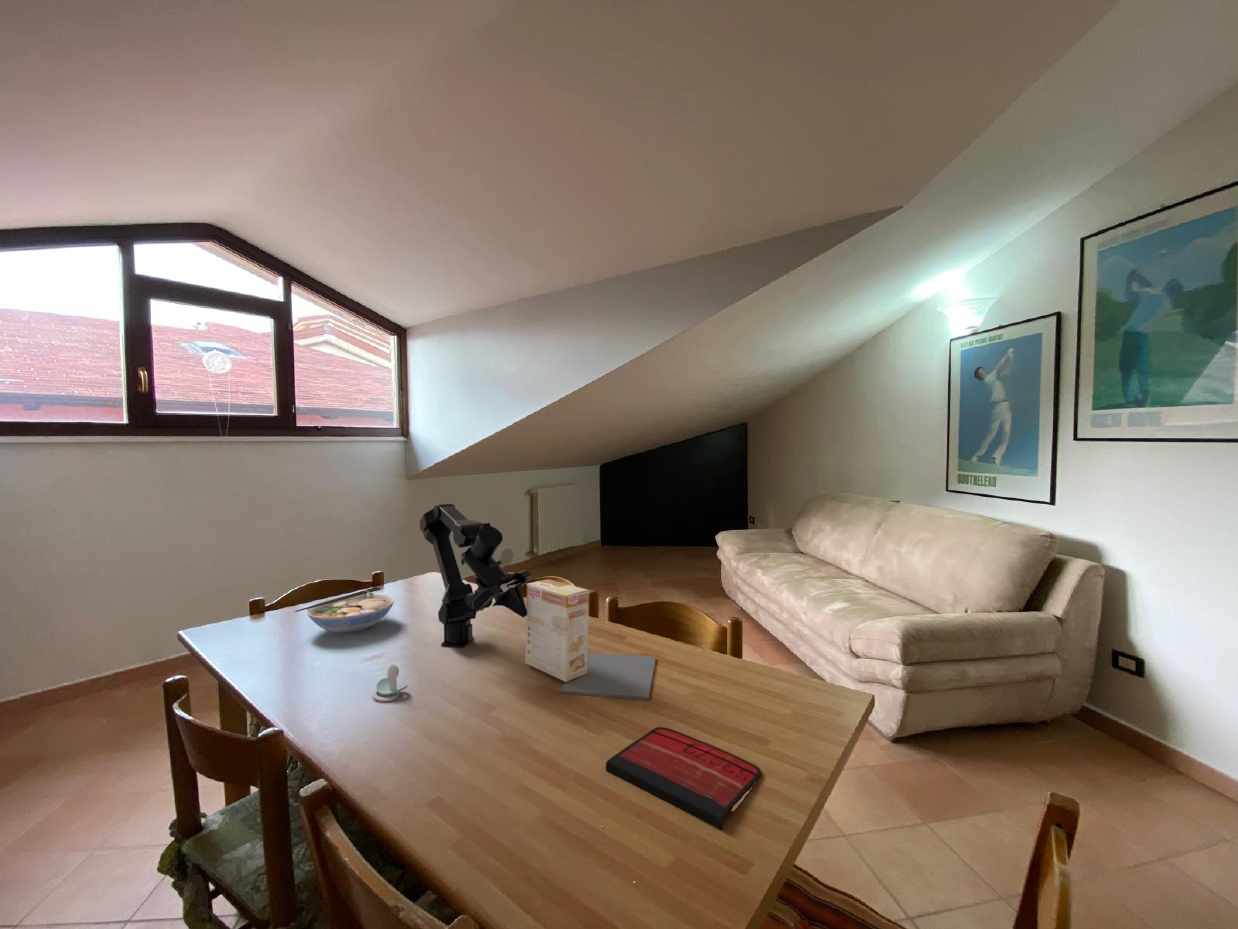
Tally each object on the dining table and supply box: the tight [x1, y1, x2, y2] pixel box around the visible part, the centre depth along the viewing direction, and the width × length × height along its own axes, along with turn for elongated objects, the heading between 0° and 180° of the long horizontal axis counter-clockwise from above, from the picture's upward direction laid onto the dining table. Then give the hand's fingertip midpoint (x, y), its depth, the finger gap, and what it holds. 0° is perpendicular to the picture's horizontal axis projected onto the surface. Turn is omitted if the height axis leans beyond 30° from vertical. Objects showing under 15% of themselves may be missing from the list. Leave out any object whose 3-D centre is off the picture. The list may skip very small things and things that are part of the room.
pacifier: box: [371, 664, 408, 703], centre depth 108 cm, size 7×6×6 cm
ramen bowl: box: [293, 586, 395, 634], centre depth 146 cm, size 25×23×8 cm
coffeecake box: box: [525, 578, 590, 683], centre depth 119 cm, size 15×7×20 cm, turn 47°
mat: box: [560, 652, 657, 701], centre depth 117 cm, size 19×20×1 cm
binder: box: [605, 726, 762, 831], centre depth 83 cm, size 16×2×21 cm
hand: (525, 616), depth 121 cm, fingers closed
